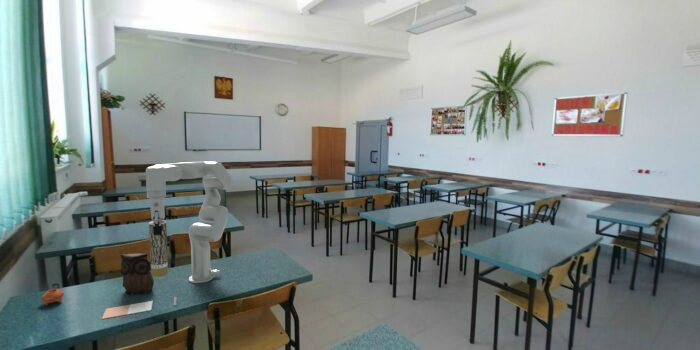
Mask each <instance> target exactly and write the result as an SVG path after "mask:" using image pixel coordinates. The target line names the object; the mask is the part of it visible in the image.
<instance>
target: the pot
mask: <svg viewBox="0 0 700 350" xmlns="http://www.w3.org/2000/svg"><path fill="white" fill-rule="evenodd" d="M64 296H65V292H64V291H63V290H60V289H58V288H52V289H49V290H46V292H45V293H44V294H42V295H41V297H40V300H41V301H42V302H43V303H44V305H45V306H48V304H49V303H51V304H52V303H55V302H59V303H61V302H62V298H63V297H64Z"/></svg>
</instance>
